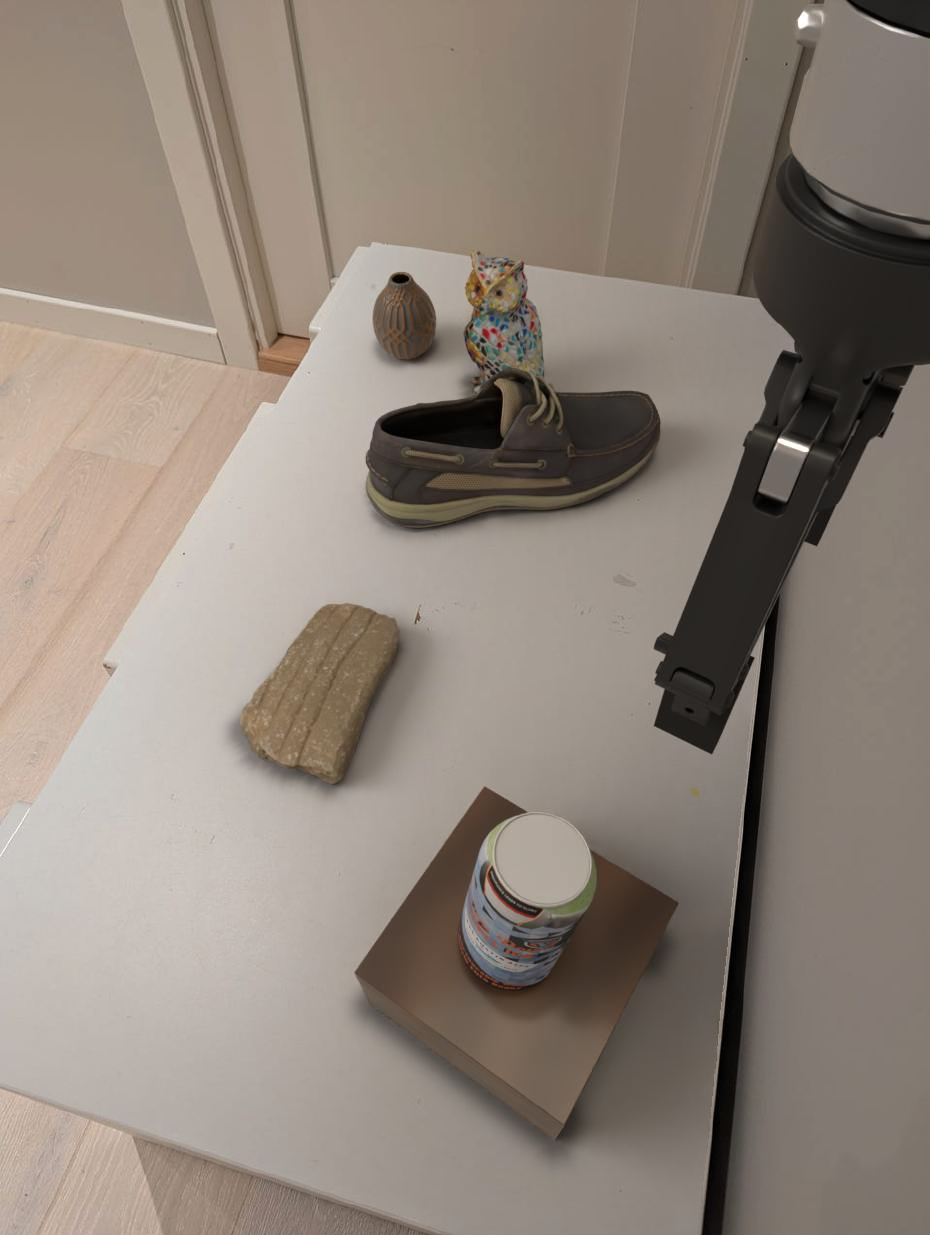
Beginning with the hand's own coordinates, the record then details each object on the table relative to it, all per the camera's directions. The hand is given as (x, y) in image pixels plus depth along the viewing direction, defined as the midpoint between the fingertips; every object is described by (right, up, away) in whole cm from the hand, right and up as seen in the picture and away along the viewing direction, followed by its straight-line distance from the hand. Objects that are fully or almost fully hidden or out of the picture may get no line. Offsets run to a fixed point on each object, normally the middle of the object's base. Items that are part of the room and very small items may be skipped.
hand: (743, 624), depth 41 cm
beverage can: (-10, -19, +10) cm, 24 cm away
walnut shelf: (-10, -23, +17) cm, 30 cm away
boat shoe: (-8, +14, +44) cm, 46 cm away
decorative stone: (-24, -6, +30) cm, 39 cm away
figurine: (-9, +25, +52) cm, 58 cm away
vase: (-20, +30, +56) cm, 67 cm away
